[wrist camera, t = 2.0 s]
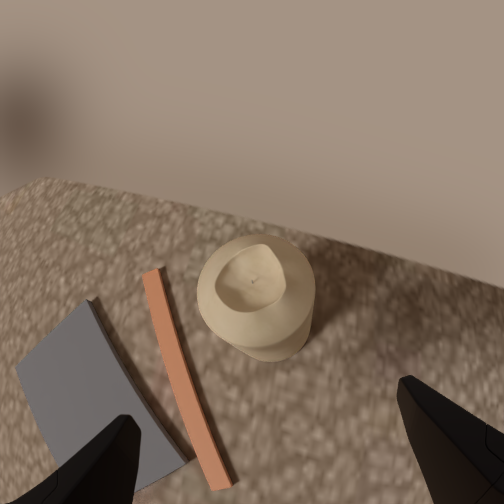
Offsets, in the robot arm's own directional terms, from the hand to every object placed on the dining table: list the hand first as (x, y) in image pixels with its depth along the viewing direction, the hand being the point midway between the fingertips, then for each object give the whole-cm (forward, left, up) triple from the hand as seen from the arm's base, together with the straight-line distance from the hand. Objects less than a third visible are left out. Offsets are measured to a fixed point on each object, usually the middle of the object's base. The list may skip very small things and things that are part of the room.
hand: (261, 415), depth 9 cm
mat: (+11, +13, -12) cm, 20 cm away
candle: (+4, -4, -12) cm, 13 cm away
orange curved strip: (+7, +4, -12) cm, 14 cm away
